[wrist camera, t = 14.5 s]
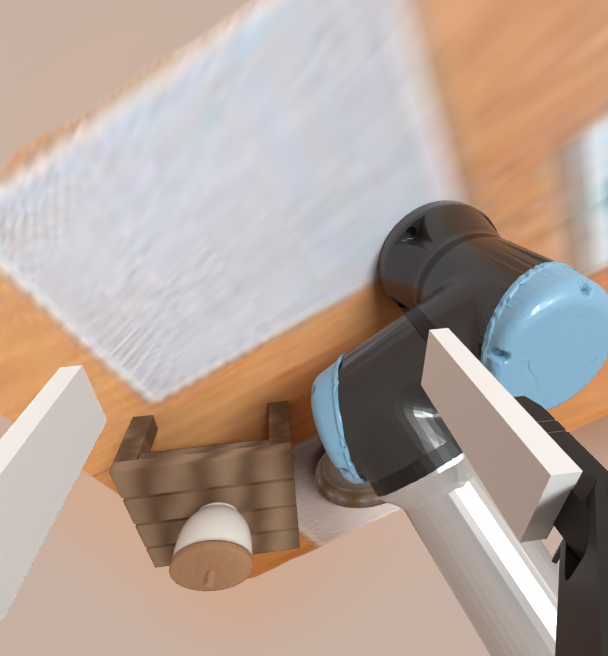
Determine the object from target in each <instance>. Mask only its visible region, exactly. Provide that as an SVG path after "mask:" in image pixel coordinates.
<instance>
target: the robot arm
mask: <svg viewBox="0 0 608 656" xmlns="http://www.w3.org/2000/svg"><path fill="white" fill-rule="evenodd" d="M379 277H380V281H381V284H382V287H383V289H384V291H385V292H386V294H387V295H388V297H389V298H390V299H391V300H392V302H393V303H394V304H395V305H396V306H397V307H398V308H400V309H401V310H403V311H404V312H406V313H405V315H404V314H403V315H402V316H400V317H399V318H397V319H396V320H395V321H393V322H392V323H390V324H389V325H387V326H386V327H384V328H383V329H382V330H380V331H379V332H377V333H376V334H374V335H373V336H371V337H370V338H369V339H367V340H366V341H364V342H363V343H361V344H360V345H358V346H357V347H355V348H354V349H353V350H351V351H350V352H348V353H344V354H342V355H341V356H340V357H339V358H338V360H337V361H336V362H334V363H333V364H332V365H331V366H329V367H328V368H327V369H325V370H324V371H323V372H322V373H320V374H319V375H318V376H317V378H316V379H315V381H314V383H313V386H312V391H311V407H312V413H313V418H314V422H315V425H316V429H317V431H318V434H319V437H320V439H321V442H322V444H323V446H324V448H325V450H326V452H327V454H328V456H329V458H330V460H331V461H332V463H333V464H334V466H335V467H336V468H339V469H340V472H341V474H342V476H343V477H344V478H345V479H347V480H348V481H349V482H351V483H354V484H359V483H361V484H365V483H366V482H368V481H369V483H370V485H371V486H372V488H373V490H374V492H375V493H376V495H377V497H378V498H379V499H380V500H381V501H384V502H387V503H390V504H393V505H396V506H399V507H400V508H402V509H403V510H404V511H405V512H406V514H407V516H408V517H409V519H410V521H411V522H412V524H413V526H414V527H415V529H416V531H417V532H418V534H419V536H420V538H421V539H422V541H423V543H424V544H425V546H426V548H427V549H428V551H429V553H430V554H431V556H432V558H433V559H434V561H435V563H436V565H437V566H438V568H439V570H440V571H441V573H442V575H443V576H444V578H445V580H446V581H447V583H448V584H449V586H450V588H451V590H452V591H453V593H454V595H455V596H456V598H457V600H458V602H459V603H460V605H461V607H462V608H463V610H464V612H465V613H466V615H467V617H468V618H469V620H470V622H471V623H472V625H473V627H474V628H475V630H476V632H477V634H478V635H479V637H480V639H481V640H482V642H483V644H484V645H485V647H486V649H487V650H488V652H489V654H490V655H491V656H608V471H607V470H606V469H605V468H604V467H603V466H602V465H601V464H600V463H599V462H598V461H597V460H596V459H595V458H594V457H593V456H592V455H591V454H590V453H589V452H588V451H587V450H586V449H585V448H584V447H583V446H582V445H581V444H580V443H579V442H578V441H577V440H576V439H575V438H574V437H573V436H572V435H571V434H570V433H569V432H566V431H565V428H564V427H563V426H562V425H561V424H560V423H559V422H558V421H555V419H554V418H553V417H552V416H551V415H550V414H549V413H548V412H547V411H546V410H549V409H552V408H554V407H556V406H558V405H560V404H562V403H564V402H565V401H567V400H569V399H570V398H572V397H573V396H574V395H576V394H577V393H578V392H579V391H581V390H582V389H583V388H584V387H585V386H586V385H587V384H588V383H589V382H590V381H591V380H592V379H593V378H594V377H595V375H596V374H597V373H598V372H599V370H600V369H601V367H602V366H603V364H604V363H605V361H606V357H607V355H608V293H607V292H606V291H605V290H604V289H603V288H602V287H601V286H599V285H598V284H597V283H595V282H593V281H591V280H590V279H588V278H586V277H585V276H583V275H581V274H579V273H578V272H576V271H575V270H574V269H573V268H571V267H570V266H569V265H567V264H565V263H561V262H555V261H553V260H551V259H548V258H546V257H544V256H542V255H539V254H537V253H535V252H532V251H530V250H528V249H526V248H523V247H521V246H519V245H516V244H514V243H512V242H510V241H507V240H505V239H503V238H501V237H500V236H499V234H498V233H497V231H496V228H495V227H494V225H493V223H492V222H491V221H490V219H489V218H488V217H487V216H486V215H485V214H484V213H482V212H481V211H479V210H478V209H476V208H474V207H472V206H469V205H466V204H463V203H461V202H456V201H437V202H433V203H429V204H426V205H424V206H421V207H419V208H417V209H415V210H414V211H412V212H411V213H409V214H408V215H407V216H405V217H404V218H403V219H402V220H401V221H400V222H399V223H398V224H397V225H396V226H395V227H394V228H393V230H392V231H391V233H390V234H389V236H388V237H387V239H386V241H385V243H384V245H383V248H382V251H381V254H380V259H379ZM106 422H107V419H106V417H105V414H104V412H103V410H102V408H101V406H100V403H99V401H98V399H97V397H96V395H95V393H94V390H93V388H92V386H91V384H90V382H89V379H88V377H87V375H86V373H85V371H84V368H83V366H82V365H80V366H71V367H61V368H59V370H58V371H57V372H56V373H55V374H54V376H53V377H52V378H51V379H50V380H49V382H48V383H47V384H46V385H45V386H44V388H43V389H42V390H41V391H40V392H39V394H38V395H37V396H36V397H35V398H34V400H33V401H32V402H31V403H30V404H29V406H28V407H27V408H26V409H25V410H24V412H23V413H22V414H21V415H20V416H19V418H18V419H17V420H16V421H15V422H14V424H13V425H12V426H11V427H10V429H9V430H8V431H7V432H6V433H5V434H4V436H3V437H2V438H1V439H0V619H3V618H4V616H5V615H6V613H7V611H8V609H9V607H10V605H11V603H12V601H13V600H14V598H15V595H16V594H17V592H18V590H19V588H20V586H21V584H22V582H23V580H24V579H25V577H26V575H27V573H28V571H29V569H30V567H31V565H32V563H33V561H34V559H35V558H36V556H37V554H38V552H39V550H40V548H41V546H42V544H43V542H44V540H45V538H46V536H47V535H48V533H49V531H50V529H51V527H52V524H53V523H54V521H55V519H56V517H57V515H58V514H59V512H60V510H61V508H62V506H63V504H64V502H65V500H66V498H67V496H68V494H69V492H70V490H71V489H72V487H73V485H74V483H75V481H76V479H77V477H78V475H79V473H80V471H81V470H82V468H83V466H84V464H85V462H86V460H87V458H88V456H89V454H90V452H91V450H92V449H93V447H94V445H95V443H96V441H97V439H98V437H99V435H100V433H101V431H102V429H103V427H104V426H105V424H106ZM553 526H555V527H556V529H557V530H558V531H559V533H560V534H561V535H562V537H563V540H562V542H561V543H560V545H559V547H558V549H557V550H556V552H555V554H554V556H553V557H552V555H551V554H550V552H549V551H548V550H547V548H546V547H545V545H544V544H543V543H542V541H541V539H547V537H548V535H549V533H550V532H551V530H552V528H553ZM559 559H560V563H559V565H558V564H557V562H558V560H559Z"/></svg>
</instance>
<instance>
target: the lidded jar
mask: <svg viewBox="0 0 608 656" xmlns="http://www.w3.org/2000/svg"><path fill="white" fill-rule="evenodd" d="M252 569H253V558H252V540H251V533H250V529H249V526H248V524H247V522H246V520H245V519H244V517H243V516H242V515H241V514H240V513H239V512H238V510H237V509H236V508H235V507H234V506H232V505H230V504H228V503H223V502H214V503H209V504H206V505H204V506H202V507H201V508H200V509H199V510H198V511H197V512H196V513H194V514H193V515H192V516H191V517H190V518H189V519H188V520H187V521H186V523H185V524H184V526H183V528H182V529H181V531H180V534H179V536H178V539H177V542H176V545H175V548H174V553H173V557H172V560H171V563H170V567H169V573H170V576H171V578H172V579H173V580H174V581H175V582H176V583H177V584H179V585H181V586H182V587H185V588H188V589H192V590H198V591H216V590H222V589H227V588H230V587H233V586H235V585H238V584H240V583H241V582H243V581H244V580H245V579H247V578H248V576H249V575H250V574H251V572H252Z"/></svg>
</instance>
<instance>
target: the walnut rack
mask: <svg viewBox="0 0 608 656" xmlns="http://www.w3.org/2000/svg"><path fill="white" fill-rule="evenodd" d="M268 407H269V439H266V440H257V441H248V442H239V443H230V444H221V445H212V446H203V447H194V448H185V449H176V450H167V451H158V452H150V450H151V447H152V444H153V441H154V438H155V435H156V432H157V426H156V423H155V420H154V417H153V415H150V416H140V417H133V418H132V421H131V423H130V425H129V428H128V430H127V432H126V434H125V437H124V439H123V441H122V444H121V446H120V448H119V450H118V453H117V455H116V457H115V459H114V462H113V464H112V466H111V469H110V471H109V473H110V475H111V477H112V479H113V481H114V483H115V485H116V487H117V490H118V492H119V494H120V496H121V498H124V500H123V502H124V504H125V506H126V508H127V510H128V512H129V514H130V516H131V518H132V521H133V522H134V524H136V529H137V531H138V533H139V535H140V537H141V539H142V541H143V543H144V545H145V547H147V551H148V553H149V555H150V558H151V559H152V562H153V564H154V566H155V567H163V566H170V563H171V560H172V557H173V553H174V548H175V545H176V542H177V539H178V536H179V534H180V531H181V529H182V528H183V526H184V524H185V523H186V521H187V520H188V519H189V518H190V517H191V516H192V515H193V514H194V513H196V512H197V511H198V510H199V509H200V508H201V507H202V506H204V505H206V504H209V503H214V502H223V503H228V504H230V505H232V506H234V507H235V508H236V509H237V510H238V512H239V513H240V514H241V515H242V516H243V517H244V519H245V520H246V522H247V524H248V526H249V529H250V533H251V540H252V554H259V553H267V552H274V551H282V550H289V549H296V548H300V544H299V531H298V519H297V507H296V494H295V482H294V470H293V457H292V446H291V436H290V426H289V416H288V405H287V401H285V402H275V403H268Z"/></svg>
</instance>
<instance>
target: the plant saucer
mask: <svg viewBox="0 0 608 656" xmlns="http://www.w3.org/2000/svg"><path fill="white" fill-rule="evenodd" d="M314 480H315V485H316V488H317V490H318V491H319V493H320V494H321V495H322V496H323V497H324V498H325V499H327V500H328V501H330V502H332V503H333V504H336V505H339V506H343V507H348V508H368V507H374V506H378V505H381V504H385V503H387V502H384V501H381V500H380V499H379V498H378V497H377V495H376V493H375V492H374V490H373V488H372V486H371V485H370V483H369V481H368V482H366V483H365V484H361V483H359V484H354V483H351V482H349V481H348V480H347V479H345V478H344V477H343V476H342V474H341V472H340V469H339V468H336V467H335V466H334V464H333V463H332V461H331V460H330V458H329V456H328V454H327V452H326V451H325V452H324V454H323V455H322V457H321V458H320V460H319V462H318V464H317V467H316V470H315V476H314Z"/></svg>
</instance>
